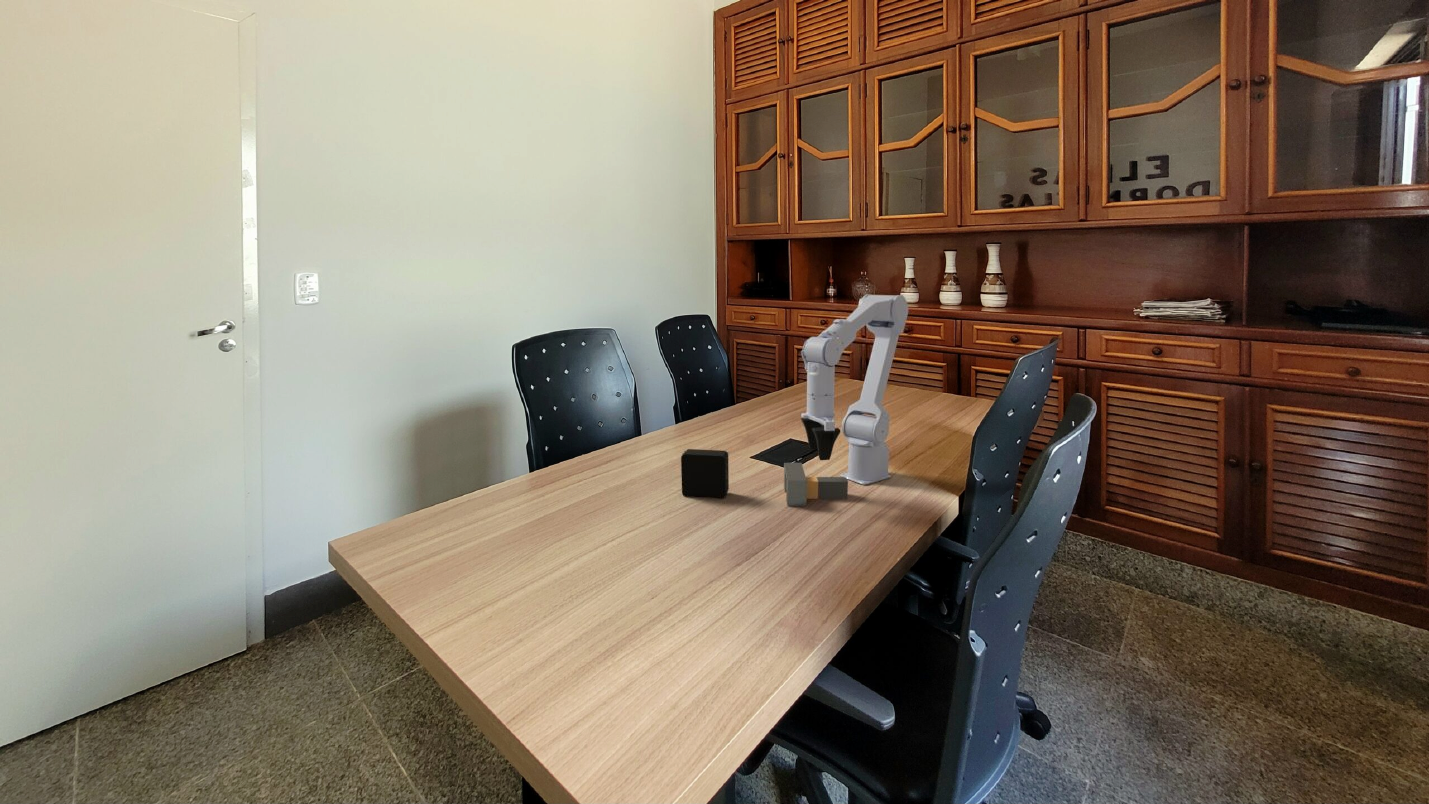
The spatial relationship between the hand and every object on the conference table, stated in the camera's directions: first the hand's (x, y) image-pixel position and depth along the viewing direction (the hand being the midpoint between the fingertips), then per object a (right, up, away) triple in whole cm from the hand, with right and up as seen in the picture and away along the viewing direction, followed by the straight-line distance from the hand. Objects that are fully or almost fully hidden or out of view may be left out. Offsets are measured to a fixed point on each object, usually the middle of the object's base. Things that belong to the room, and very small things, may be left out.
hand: (819, 454), depth 133 cm
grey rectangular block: (-5, -10, +4) cm, 11 cm away
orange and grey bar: (0, -10, +3) cm, 10 cm away
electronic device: (-25, -10, +5) cm, 27 cm away
